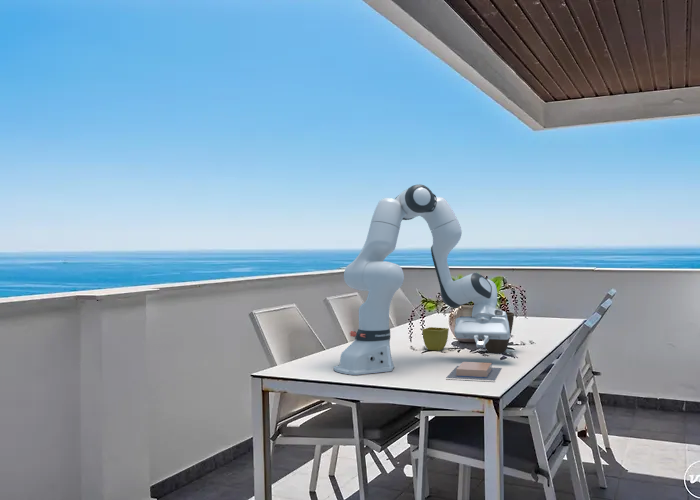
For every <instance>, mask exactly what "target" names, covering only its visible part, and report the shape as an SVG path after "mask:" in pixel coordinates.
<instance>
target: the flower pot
mask: <svg viewBox="0 0 700 500" xmlns="http://www.w3.org/2000/svg"><path fill="white" fill-rule="evenodd" d="M422 336H423V337H422V338H423V342H424V345H425V347H426V349H427V350H428V351H437V352H439V351H442V350H444V348H445V347H446V345H447V342H448V339H449V337H448V336H449V328H447V327H432V326H431V327H430V326H429V327H426V328H423V329H422Z"/></svg>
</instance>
